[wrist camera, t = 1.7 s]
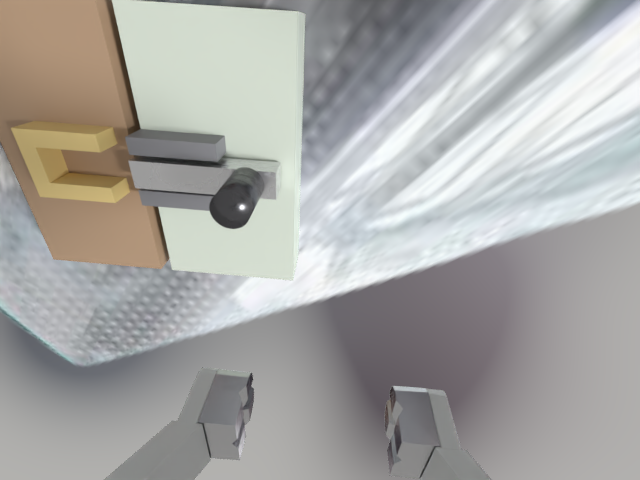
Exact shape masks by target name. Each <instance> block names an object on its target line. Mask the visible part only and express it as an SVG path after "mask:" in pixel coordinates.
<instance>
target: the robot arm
mask: <svg viewBox="0 0 640 480" xmlns="http://www.w3.org/2000/svg"><path fill="white" fill-rule="evenodd" d="M252 381H253V375H252V373H250V372H240V371H231V370H221V369H214V368H203V367H202V368H201V370H200V371H199V372H198V375H197V377H196V379H195V381H194V384H193V386H192V388H191V391H190V393H189V395H188V398H187V400H186V402H185V405H184V407H183V409H182V412H181V414H180V416H179V418H178V421H171V422H170V423H169V424H168V425H167V426H165V427H164V428H163V429H162V430H161V431H160V432H159V433H157V434H156V435H155V436H154V437H153V438H152V439H151V440H149V441H148V442H147V443H146V444H145V445H144V446H142V447H141V448H140V449H139V450H138V451H137V452H135V453H134V454H133V455H132V456H131V457H130V458H128V459H127V460H126V461H125V462H124V463H123V464H122V465H120V466H119V467H118V468H117V469H116V470H115V471H114V472H112V473H111V474H110V475H109V476H108V477H106V478H105V479H104V480H194V479H195V478H196V477H197V476H198V474H199V473H200V472H201V471H202V470H203V468H204V467H205V466H206V465H207V464H208V463H209V461H210V458H217V459H232V460H240V458H241V454H242V449H243V446H244V442H245V438H246V432H245V425H246V424H247V423H248V422H249V421H250V418H251V413H252V408H253V402H254V388H253V387H252V386H251V385H252ZM385 432H386V436H387V437H388V438H389V440H390V443H389V446H388V449H387V453H388V464H389V473H390V476H397V477H405V478H413V479H420V480H491V478H490V477H489V476H488V475H487V474H486V473H485V471H484V470H483V469H482V468H481V467H480V465H479V464H478V463H477V462H476V461H475V459H474V458H473V457H472V456H471V455H470V454H469V452H468V451H467V450H462V449H461V446H460V443H459V439H458V436H457V432H456V428H455V425H454V421H453V418H452V414H451V410H450V407H449V403H448V399H447V396H446V394H445V392H444V391H442V390H432V389H424V388H414V387H401V386H392V387H391V390H390V400H389V401H387V404H386V408H385Z"/></svg>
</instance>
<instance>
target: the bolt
mask: <svg viewBox="0 0 640 480" xmlns="http://www.w3.org/2000/svg"><path fill="white" fill-rule="evenodd" d="M128 162H129V166H130V170H131V174H132V178H133V181H134V185H135V188H139V189H152V190H164V191H176V192H188V193H200V194H212V195H214V197H213V198H212V199H211V201H210V205H209V210H210V214H211V216H212V217H213V219H214V220H215V221H216V222H217V223H218V224H219V225H221V226H223V227H225V228H229V229H238V228H241V227H243V226H244V225H246V224H247V222H248V221H249V219H250V217H251V215H252V213H253V211H254V209H255V207H256V205H257V203H258V201H259V199H260V198H261V199H273V200H276V199H277V197H278V194H279V192H280V189H281V162H271V161H258V160H245V159H233V158H221V159H220V160H219V161H218V162H213V161H200V160H188V159H175V158H163V157H150V156H138V155H137V156H135V157H133V158H132V159H130V160H128Z"/></svg>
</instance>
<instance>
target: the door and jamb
mask: <svg viewBox="0 0 640 480" xmlns="http://www.w3.org/2000/svg"><path fill="white" fill-rule="evenodd" d="M304 44H305V14H304V13H301V12H298V11H284V10H270V9H255V8H240V7H226V6H211V5H196V4H182V3H167V2H152V1H138V0H0V142H1V144H2V147H3V149H4V151H5V153H6V155H7V158H8V160H9V162H10V164H11V166H12V169H13V171H14V173H15V175H16V177H17V180H18V182H19V184H20V186H21V188H22V191H23V193H24V195H25V197H26V199H27V202H28V204H29V206H30V208H31V210H32V213H33V215H34V217H35V219H36V221H37V224H38V226H39V228H40V230H41V233H42V235H43V237H44V239H45V241H46V244H47V246H48V248H49V250H50V252H51V255H52V257H53V259H56V260H67V261H79V262H90V263H101V264H113V265H124V266H135V267H147V268H158V269H162V267H163V266H164V265H165V263H166V262H167V261H168V260H169V258H170V262H171V266H172V270H180V271H192V272H203V273H214V274H226V275H237V276H248V277H260V278H271V279H282V280H293V278H294V273H295V269H296V264H297V259H298V252H299V217H300V182H301V148H302V113H303V79H304ZM137 155H138V156H150V157H163V158H175V159H188V160H200V161H213V162H218V161H219V160H220V159H221V158H233V159H245V160H258V161H271V162H281V189H280V192H279V194H278V197H277V199H276V200H273V199H261V198H260V199H259V201H258V203H257V205H256V207H255V209H254V211H253V213H252V215H251V217H250V219H249V221H248V222H247V224H246V225H244V226H243V227H241V228H238V229H229V228H225V227H223V226H221V225H219V224H218V223H217V222H216V221H215V220H214V219H213V217H212V216H211V214H210V210H209V205H210V201H211V199H212V198H213V197H214V195H212V194H200V193H188V192H176V191H164V190H152V189H139V188H135V185H134V181H133V178H132V174H131V170H130V166H129V162H128V160H130V159H132V158H133V157H135V156H137Z"/></svg>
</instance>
